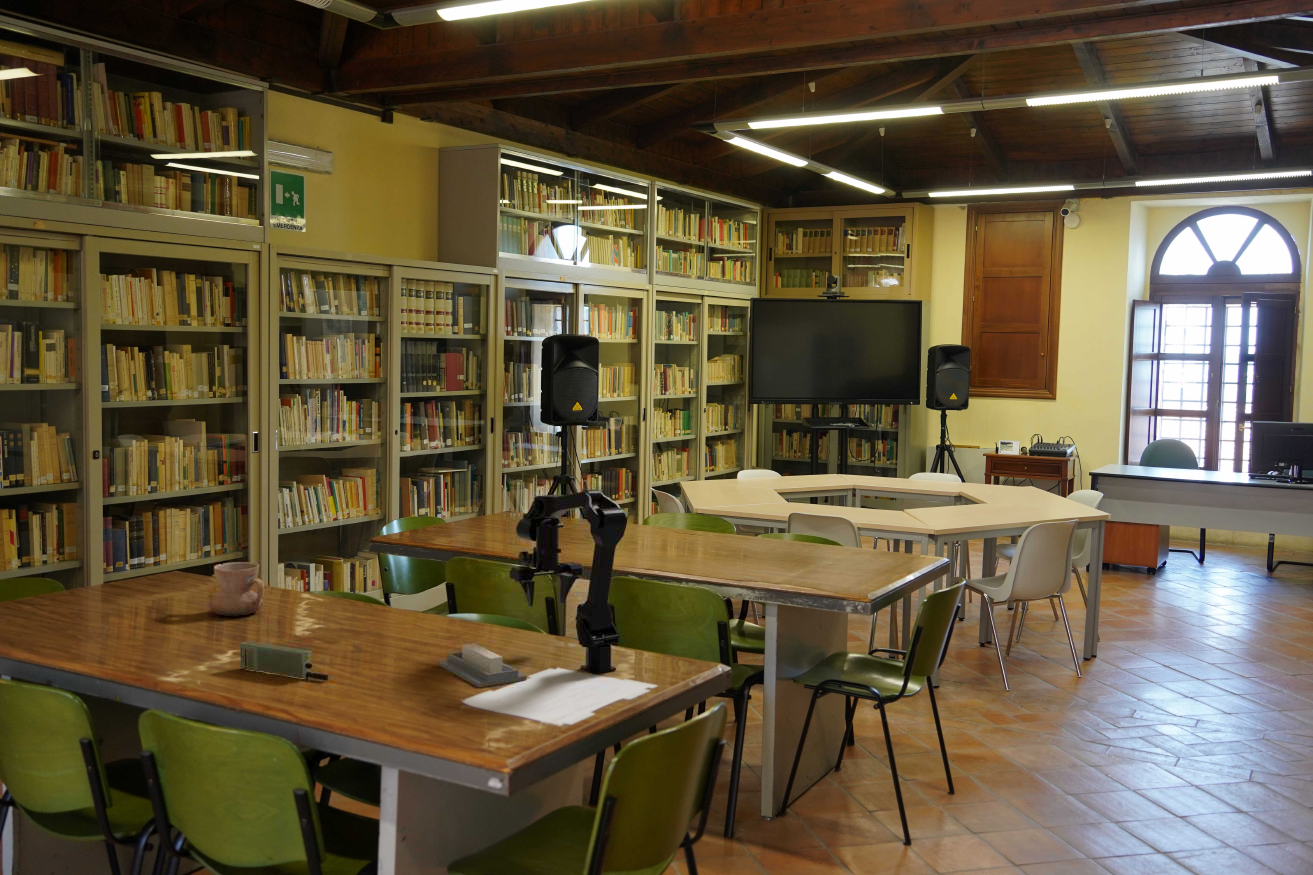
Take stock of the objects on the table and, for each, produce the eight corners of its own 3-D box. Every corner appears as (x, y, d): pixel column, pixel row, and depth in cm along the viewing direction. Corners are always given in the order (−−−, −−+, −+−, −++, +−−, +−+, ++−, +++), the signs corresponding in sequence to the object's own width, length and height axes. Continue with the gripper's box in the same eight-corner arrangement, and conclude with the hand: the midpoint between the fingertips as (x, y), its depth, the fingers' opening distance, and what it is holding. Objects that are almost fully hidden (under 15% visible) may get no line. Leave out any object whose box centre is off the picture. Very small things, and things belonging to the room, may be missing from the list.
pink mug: (194, 615, 305) (194, 566, 304) (233, 605, 318) (233, 558, 317) (242, 623, 297) (242, 573, 296) (279, 613, 311) (280, 565, 310)
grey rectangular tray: (526, 679, 245) (526, 668, 245) (479, 687, 238) (479, 676, 238) (483, 658, 263) (483, 648, 263) (438, 665, 256) (438, 654, 256)
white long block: (502, 673, 245) (502, 656, 245) (490, 675, 243) (490, 658, 243) (473, 659, 257) (473, 643, 257) (462, 661, 256) (462, 644, 255)
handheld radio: (249, 667, 252) (332, 681, 242) (238, 671, 249) (322, 685, 239) (248, 640, 251) (331, 652, 241) (237, 643, 248) (321, 656, 238)
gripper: (563, 537, 283) (562, 595, 283) (499, 542, 272) (499, 602, 272) (584, 543, 273) (583, 602, 274) (520, 548, 263) (519, 610, 263)
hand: (546, 604), depth 271 cm, fingers open, 9 cm apart
